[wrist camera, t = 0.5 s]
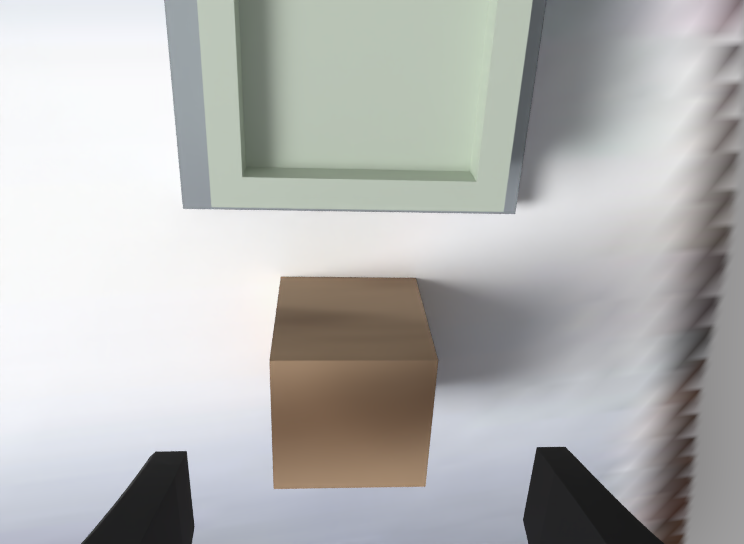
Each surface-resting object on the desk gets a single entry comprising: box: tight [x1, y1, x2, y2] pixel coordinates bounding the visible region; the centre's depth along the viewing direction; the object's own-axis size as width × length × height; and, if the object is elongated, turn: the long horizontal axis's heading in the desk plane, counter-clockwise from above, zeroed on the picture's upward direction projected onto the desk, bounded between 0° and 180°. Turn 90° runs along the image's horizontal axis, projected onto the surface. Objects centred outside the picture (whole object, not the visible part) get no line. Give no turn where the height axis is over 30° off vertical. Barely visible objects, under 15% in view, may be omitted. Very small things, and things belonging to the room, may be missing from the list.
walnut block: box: [270, 277, 438, 489], centre depth 21 cm, size 4×4×5 cm
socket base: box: [164, 0, 546, 214], centre depth 16 cm, size 10×10×5 cm
